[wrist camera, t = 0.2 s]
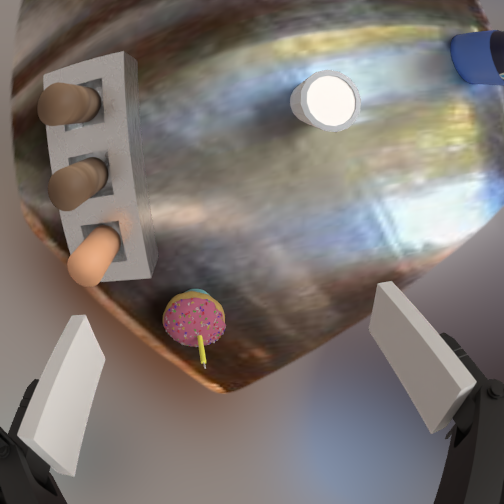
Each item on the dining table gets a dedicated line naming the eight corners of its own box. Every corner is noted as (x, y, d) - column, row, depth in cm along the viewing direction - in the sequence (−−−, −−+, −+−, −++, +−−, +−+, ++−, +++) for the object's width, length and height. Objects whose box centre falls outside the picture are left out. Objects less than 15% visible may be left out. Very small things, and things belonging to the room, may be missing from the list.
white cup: (279, 120, 34) (293, 121, 28) (291, 70, 31) (308, 60, 25) (329, 135, 36) (353, 140, 29) (342, 87, 33) (367, 82, 27)
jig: (66, 78, 28) (43, 74, 22) (137, 60, 28) (123, 51, 23) (93, 262, 39) (79, 283, 33) (158, 255, 40) (151, 278, 34)
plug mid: (74, 160, 28) (44, 173, 22) (106, 154, 28) (80, 164, 22) (80, 194, 30) (52, 214, 23) (111, 189, 30) (87, 208, 24)
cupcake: (235, 301, 44) (243, 358, 34) (197, 333, 46) (196, 391, 35) (192, 265, 41) (186, 319, 30) (155, 302, 43) (141, 359, 32)
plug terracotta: (87, 227, 31) (62, 252, 25) (117, 223, 32) (96, 248, 25) (94, 257, 33) (74, 287, 27) (123, 254, 33) (107, 285, 27)
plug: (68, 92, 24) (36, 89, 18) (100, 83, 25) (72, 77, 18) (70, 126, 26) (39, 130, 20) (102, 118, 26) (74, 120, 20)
